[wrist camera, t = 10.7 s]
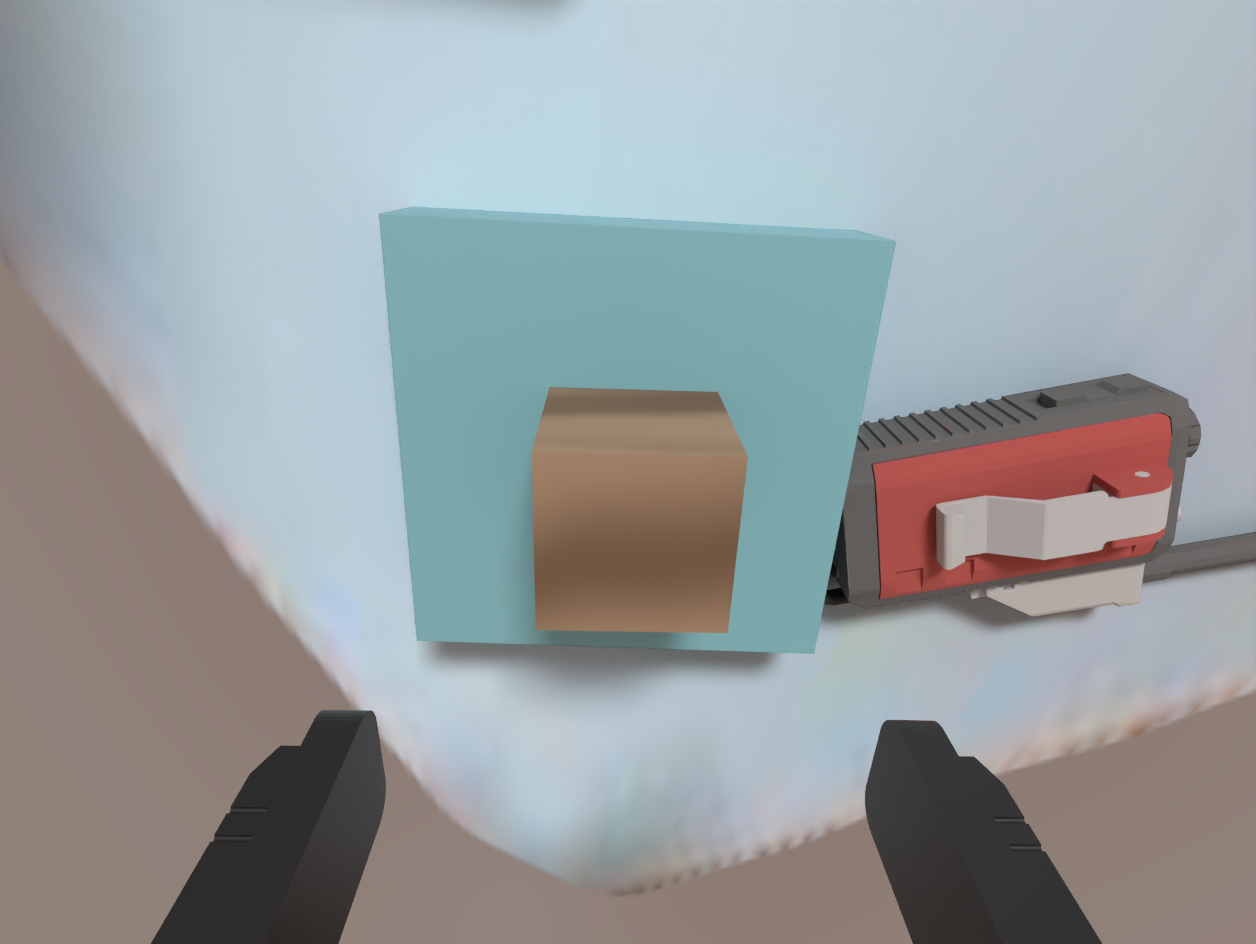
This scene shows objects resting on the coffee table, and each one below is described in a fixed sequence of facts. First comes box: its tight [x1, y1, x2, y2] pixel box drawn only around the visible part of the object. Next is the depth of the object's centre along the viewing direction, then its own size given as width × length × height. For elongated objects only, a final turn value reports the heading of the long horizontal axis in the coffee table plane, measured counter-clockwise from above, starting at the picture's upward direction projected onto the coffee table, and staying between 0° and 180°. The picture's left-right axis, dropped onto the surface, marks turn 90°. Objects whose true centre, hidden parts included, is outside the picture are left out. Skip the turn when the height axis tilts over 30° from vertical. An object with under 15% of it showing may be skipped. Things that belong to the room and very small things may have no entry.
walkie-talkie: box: [824, 373, 1256, 617], centre depth 24 cm, size 9×4×20 cm
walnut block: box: [532, 387, 748, 633], centre depth 19 cm, size 5×5×5 cm
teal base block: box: [379, 207, 896, 654], centre depth 23 cm, size 14×14×4 cm
